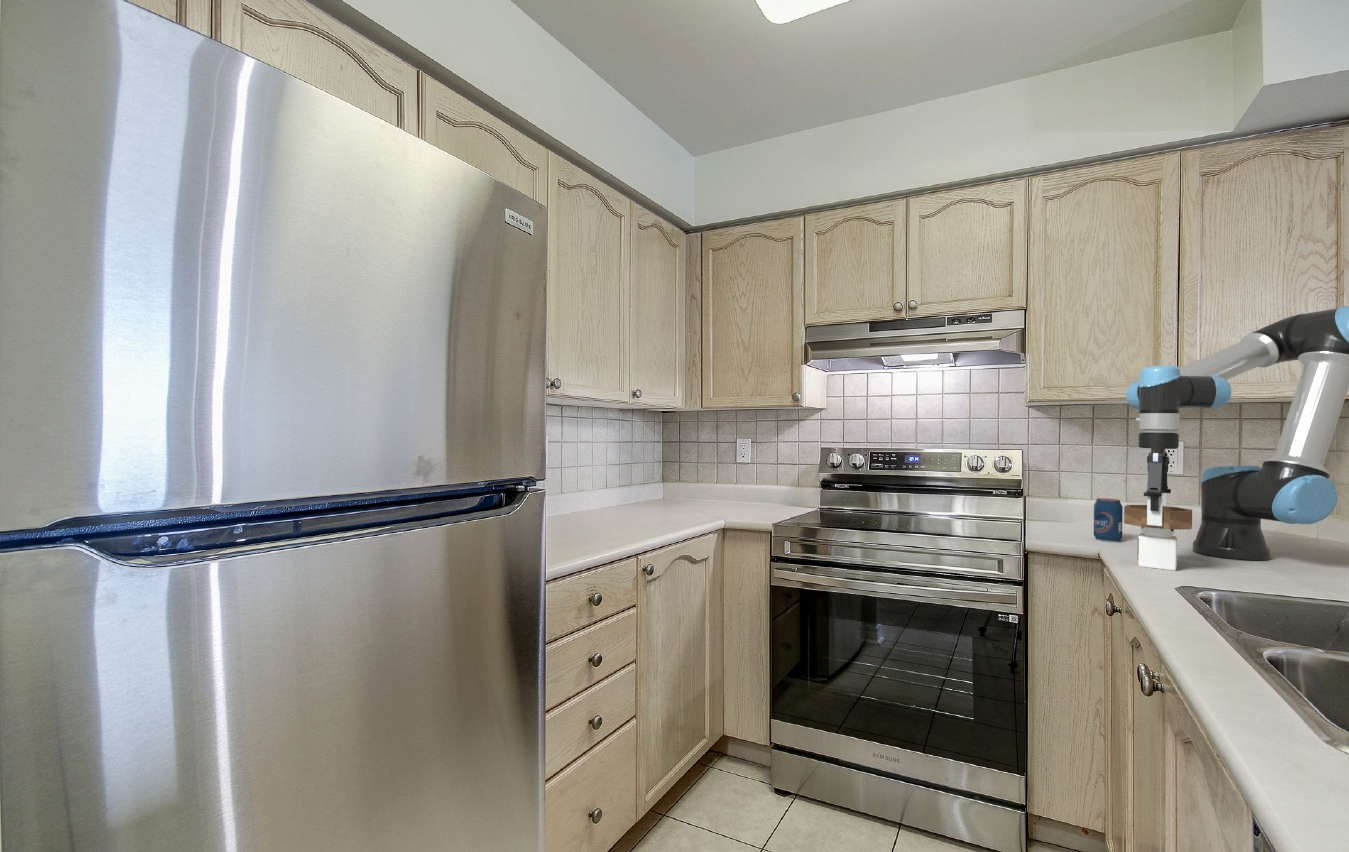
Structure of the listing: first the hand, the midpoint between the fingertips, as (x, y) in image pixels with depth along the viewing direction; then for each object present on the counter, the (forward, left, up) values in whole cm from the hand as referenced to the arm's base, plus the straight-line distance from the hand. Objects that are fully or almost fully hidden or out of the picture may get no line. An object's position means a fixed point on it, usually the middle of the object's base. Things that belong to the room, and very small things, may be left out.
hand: (1157, 522), depth 148 cm
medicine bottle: (0, 0, -11) cm, 11 cm away
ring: (0, 0, -1) cm, 1 cm away
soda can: (-15, -35, -11) cm, 40 cm away
